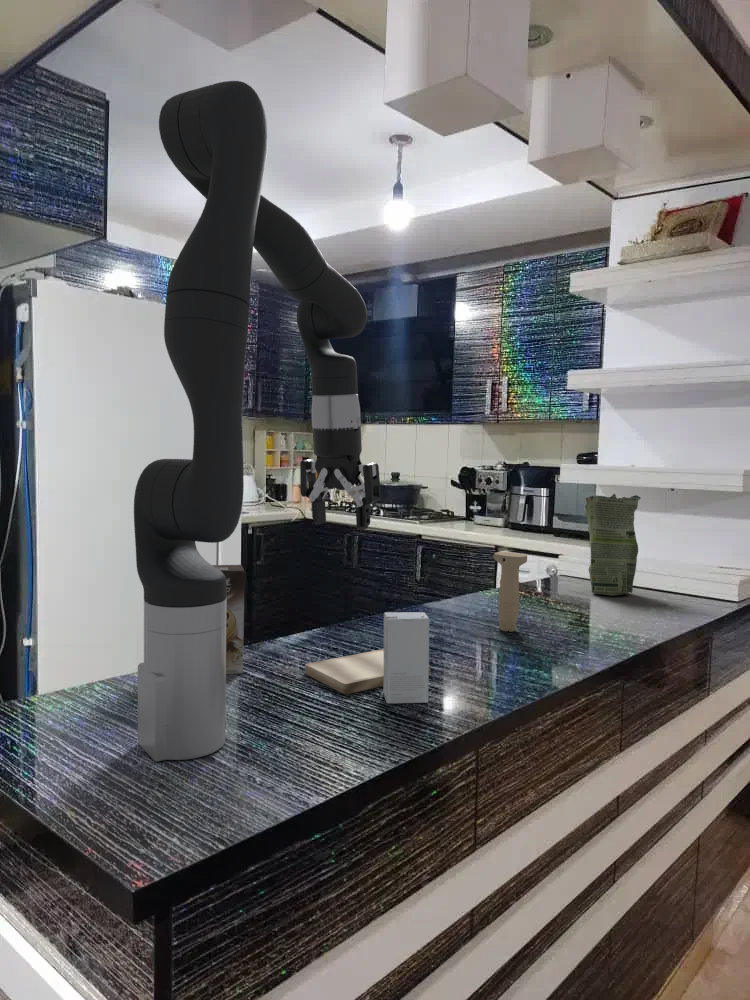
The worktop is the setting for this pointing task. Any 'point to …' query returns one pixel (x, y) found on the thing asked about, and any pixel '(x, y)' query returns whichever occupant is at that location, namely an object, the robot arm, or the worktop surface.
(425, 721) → the worktop surface
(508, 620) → the handle
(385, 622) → the skincare box
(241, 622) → the coffee box
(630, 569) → the pouch
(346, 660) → the birch board
